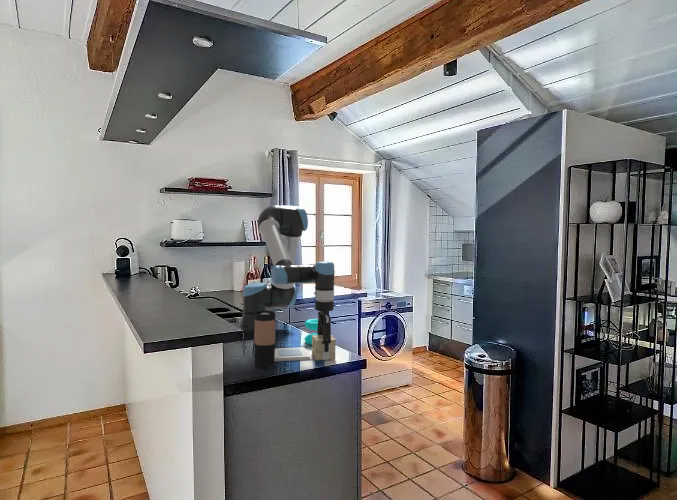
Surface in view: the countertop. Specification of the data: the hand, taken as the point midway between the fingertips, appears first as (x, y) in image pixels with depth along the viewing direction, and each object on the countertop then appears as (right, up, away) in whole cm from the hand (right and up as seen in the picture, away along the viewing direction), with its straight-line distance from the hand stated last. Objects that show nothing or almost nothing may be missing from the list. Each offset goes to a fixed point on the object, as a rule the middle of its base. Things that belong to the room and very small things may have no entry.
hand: (323, 356), depth 177 cm
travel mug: (-22, -1, -13) cm, 25 cm away
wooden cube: (0, 0, 0) cm, 0 cm away
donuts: (-4, +1, +23) cm, 23 cm away
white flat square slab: (-14, 0, +1) cm, 14 cm away
